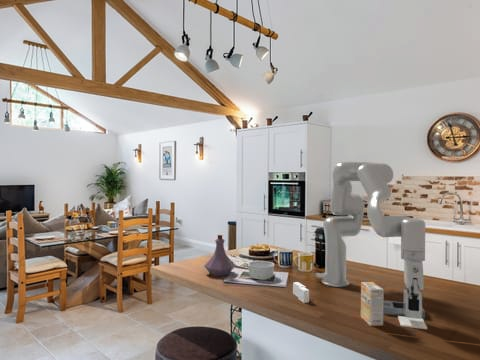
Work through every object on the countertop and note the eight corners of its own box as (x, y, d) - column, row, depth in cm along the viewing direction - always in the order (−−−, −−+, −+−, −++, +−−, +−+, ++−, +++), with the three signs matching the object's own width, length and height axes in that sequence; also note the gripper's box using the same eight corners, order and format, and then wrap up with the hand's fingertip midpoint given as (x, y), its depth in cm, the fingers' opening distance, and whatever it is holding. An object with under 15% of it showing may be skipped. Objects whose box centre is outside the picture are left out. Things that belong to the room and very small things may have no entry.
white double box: (290, 292, 160) (290, 279, 160) (316, 295, 156) (316, 282, 156) (282, 303, 146) (282, 289, 146) (311, 307, 142) (311, 292, 142)
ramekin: (278, 276, 183) (279, 262, 183) (266, 283, 172) (266, 268, 172) (256, 272, 190) (256, 259, 190) (242, 278, 179) (243, 264, 179)
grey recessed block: (382, 315, 133) (382, 307, 133) (380, 307, 140) (380, 300, 140) (424, 320, 128) (424, 311, 128) (420, 312, 136) (420, 303, 136)
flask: (217, 268, 199) (217, 231, 199) (241, 272, 189) (242, 234, 189) (197, 274, 186) (197, 235, 185) (222, 280, 176) (222, 239, 176)
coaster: (400, 327, 122) (401, 324, 122) (397, 318, 130) (397, 315, 130) (427, 330, 120) (427, 327, 120) (422, 321, 127) (422, 318, 127)
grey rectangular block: (421, 319, 121) (422, 295, 121) (405, 317, 123) (405, 293, 123) (418, 313, 126) (419, 290, 126) (403, 312, 128) (403, 289, 128)
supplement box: (359, 318, 130) (360, 281, 130) (372, 317, 131) (373, 281, 130) (370, 327, 122) (370, 289, 122) (383, 327, 122) (384, 288, 122)
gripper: (430, 261, 115) (429, 318, 115) (420, 250, 131) (419, 300, 132) (404, 259, 117) (404, 315, 118) (397, 249, 134) (397, 298, 134)
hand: (412, 307), depth 125 cm, fingers closed on grey rectangular block, 5 cm apart
